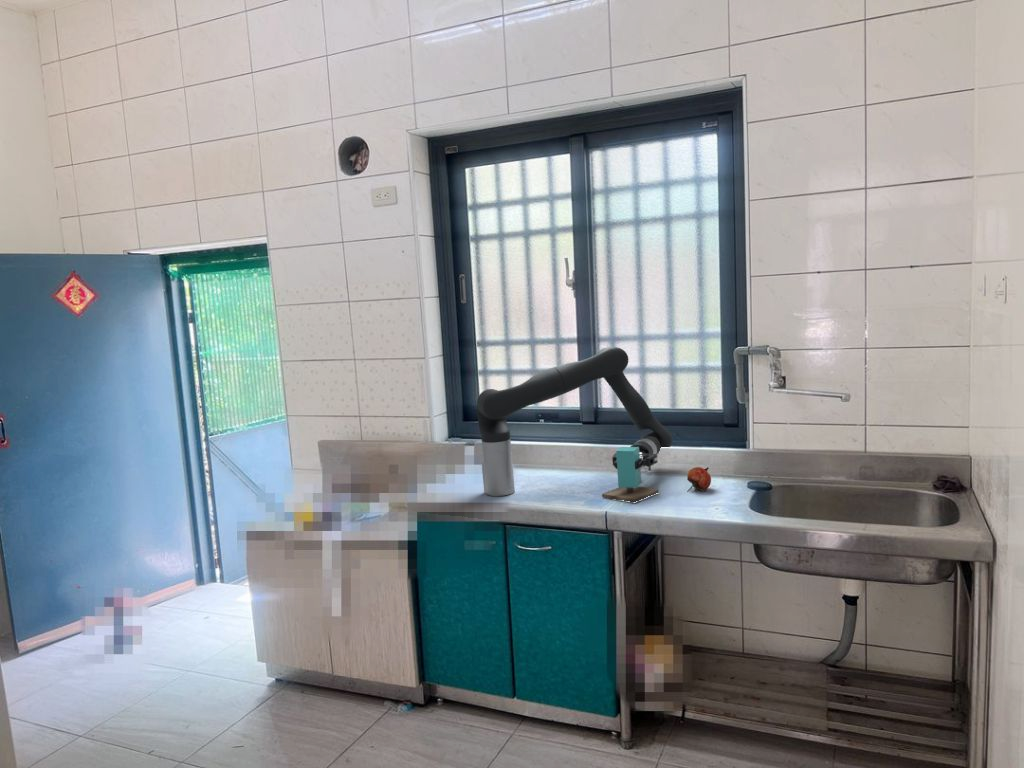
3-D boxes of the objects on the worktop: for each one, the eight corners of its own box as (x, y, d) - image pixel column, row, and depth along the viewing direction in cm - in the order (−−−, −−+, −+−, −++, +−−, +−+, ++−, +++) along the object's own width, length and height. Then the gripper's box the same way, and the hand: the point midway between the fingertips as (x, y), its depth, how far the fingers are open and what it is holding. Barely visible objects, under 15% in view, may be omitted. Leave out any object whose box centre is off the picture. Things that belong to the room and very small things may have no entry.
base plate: (602, 497, 218) (601, 493, 218) (626, 488, 226) (626, 484, 226) (634, 503, 209) (634, 499, 209) (658, 493, 217) (658, 489, 217)
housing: (618, 487, 216) (616, 450, 215) (624, 482, 221) (621, 446, 220) (636, 487, 214) (633, 451, 212) (641, 482, 219) (639, 447, 217)
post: (625, 492, 218) (624, 472, 217) (629, 490, 219) (628, 471, 218) (630, 493, 216) (629, 473, 215) (634, 491, 217) (633, 471, 217)
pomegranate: (699, 502, 213) (722, 478, 214) (683, 484, 213) (706, 460, 214) (689, 498, 221) (712, 475, 222) (673, 480, 220) (696, 458, 221)
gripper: (619, 440, 232) (602, 452, 217) (664, 441, 226) (649, 453, 211) (621, 463, 233) (603, 477, 218) (665, 464, 226) (650, 479, 211)
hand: (626, 465), depth 214 cm, fingers closed on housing, 5 cm apart
